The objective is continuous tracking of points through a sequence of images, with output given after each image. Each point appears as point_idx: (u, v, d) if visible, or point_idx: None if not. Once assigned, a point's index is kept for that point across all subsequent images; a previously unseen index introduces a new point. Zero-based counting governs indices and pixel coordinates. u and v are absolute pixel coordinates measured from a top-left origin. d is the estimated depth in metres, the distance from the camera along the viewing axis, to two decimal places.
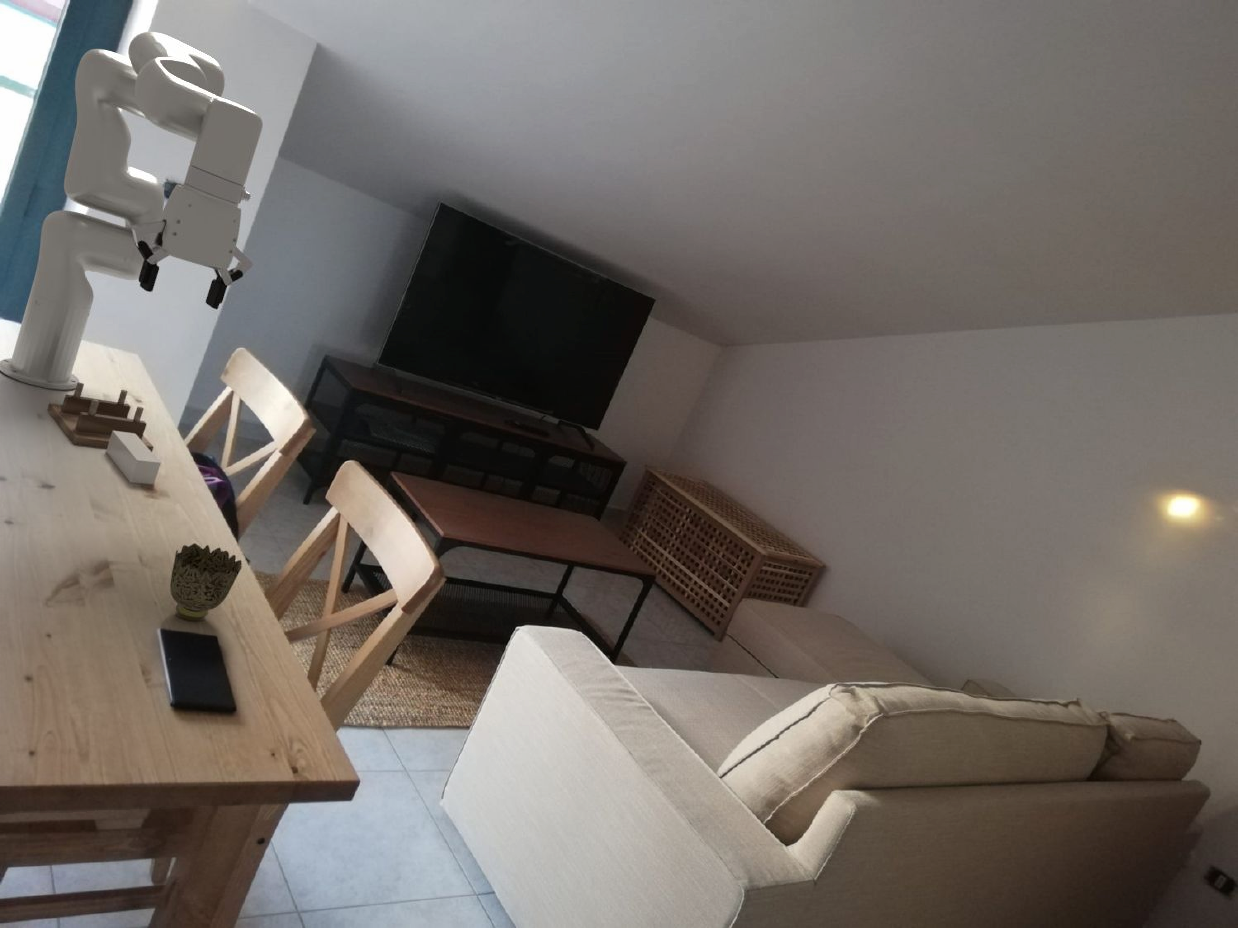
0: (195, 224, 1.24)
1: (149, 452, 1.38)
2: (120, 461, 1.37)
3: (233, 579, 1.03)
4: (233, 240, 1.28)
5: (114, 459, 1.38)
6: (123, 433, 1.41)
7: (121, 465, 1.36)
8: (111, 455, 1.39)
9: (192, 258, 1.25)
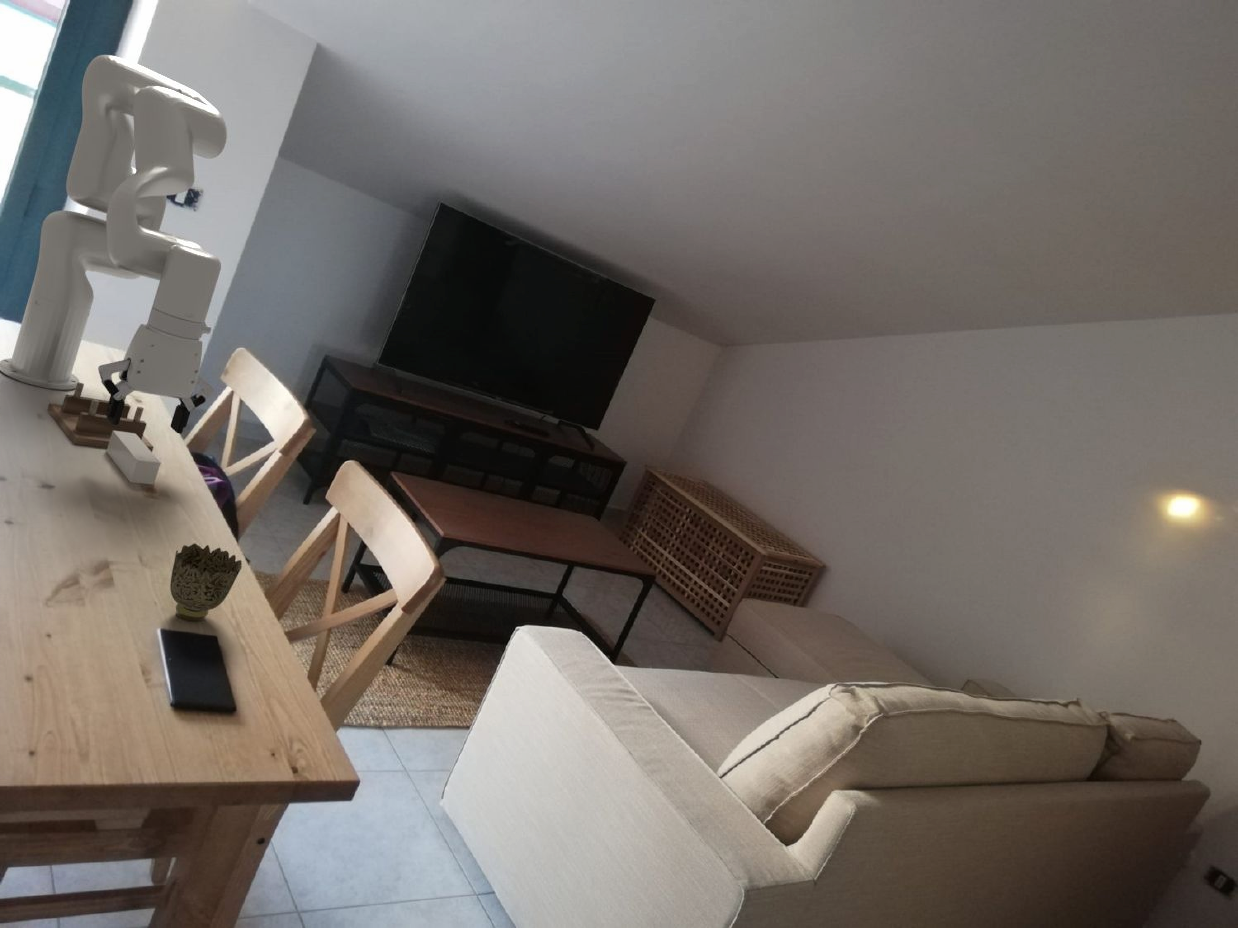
0: (158, 361, 1.32)
1: (149, 452, 1.38)
2: (120, 461, 1.37)
3: (233, 579, 1.03)
4: (195, 371, 1.37)
5: (114, 459, 1.38)
6: (123, 433, 1.41)
7: (121, 465, 1.36)
8: (111, 455, 1.39)
9: (156, 391, 1.34)
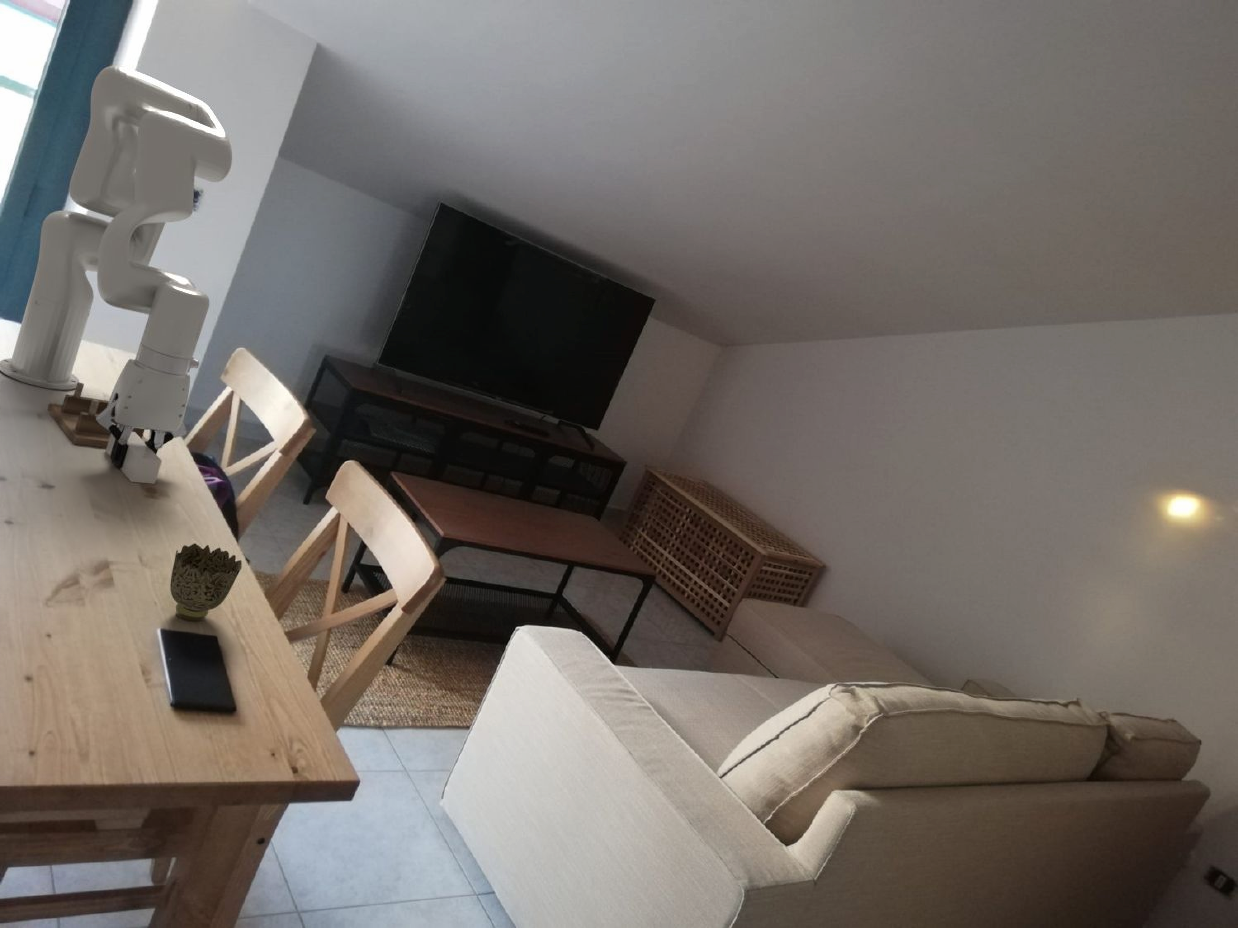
0: (145, 397, 1.33)
1: (150, 450, 1.38)
2: None
3: (233, 579, 1.03)
4: (182, 405, 1.38)
5: None
6: None
7: None
8: None
9: (143, 426, 1.35)
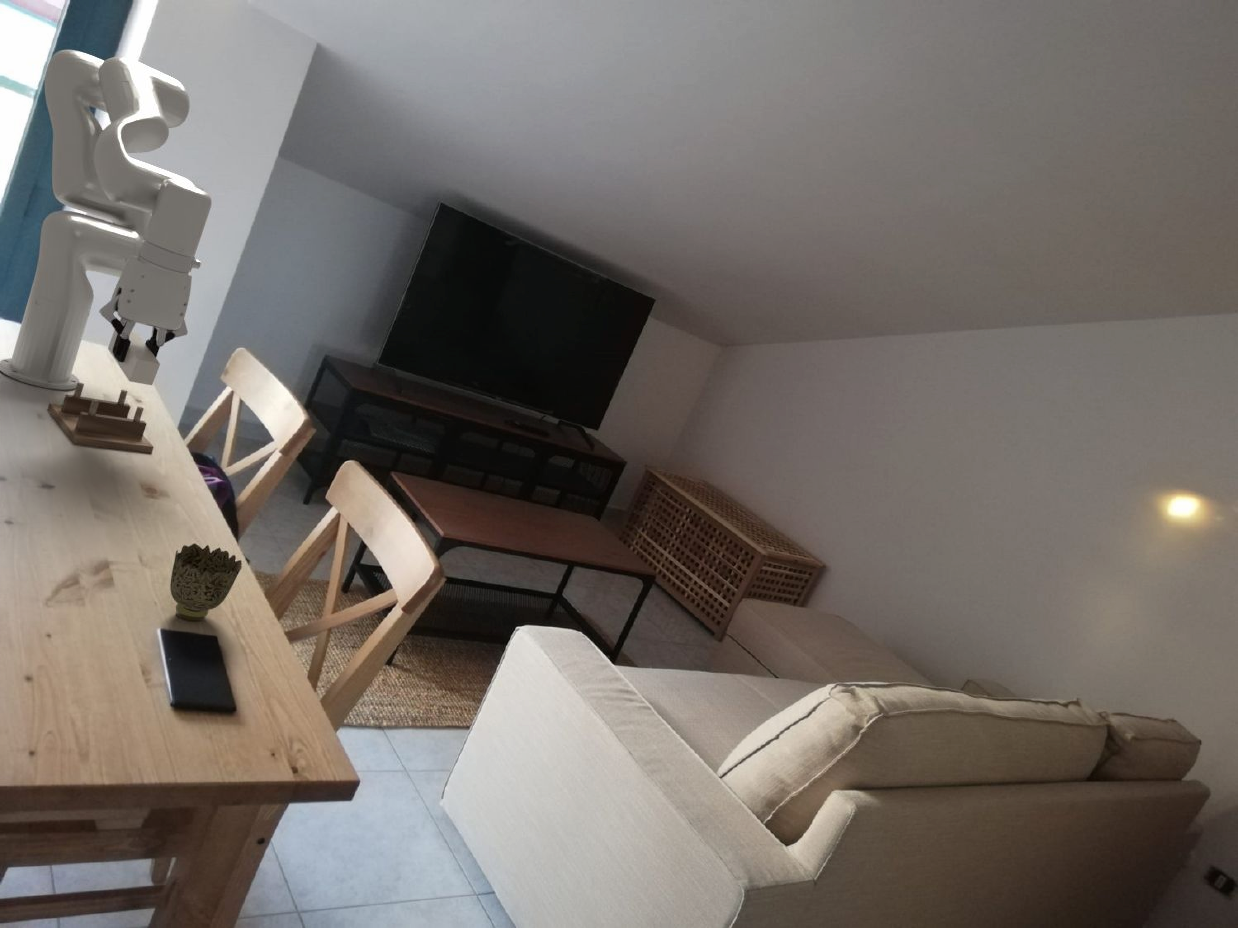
0: (148, 292, 1.37)
1: (149, 352, 1.42)
2: None
3: (233, 579, 1.03)
4: (184, 304, 1.42)
5: None
6: None
7: (121, 363, 1.41)
8: None
9: (145, 321, 1.39)
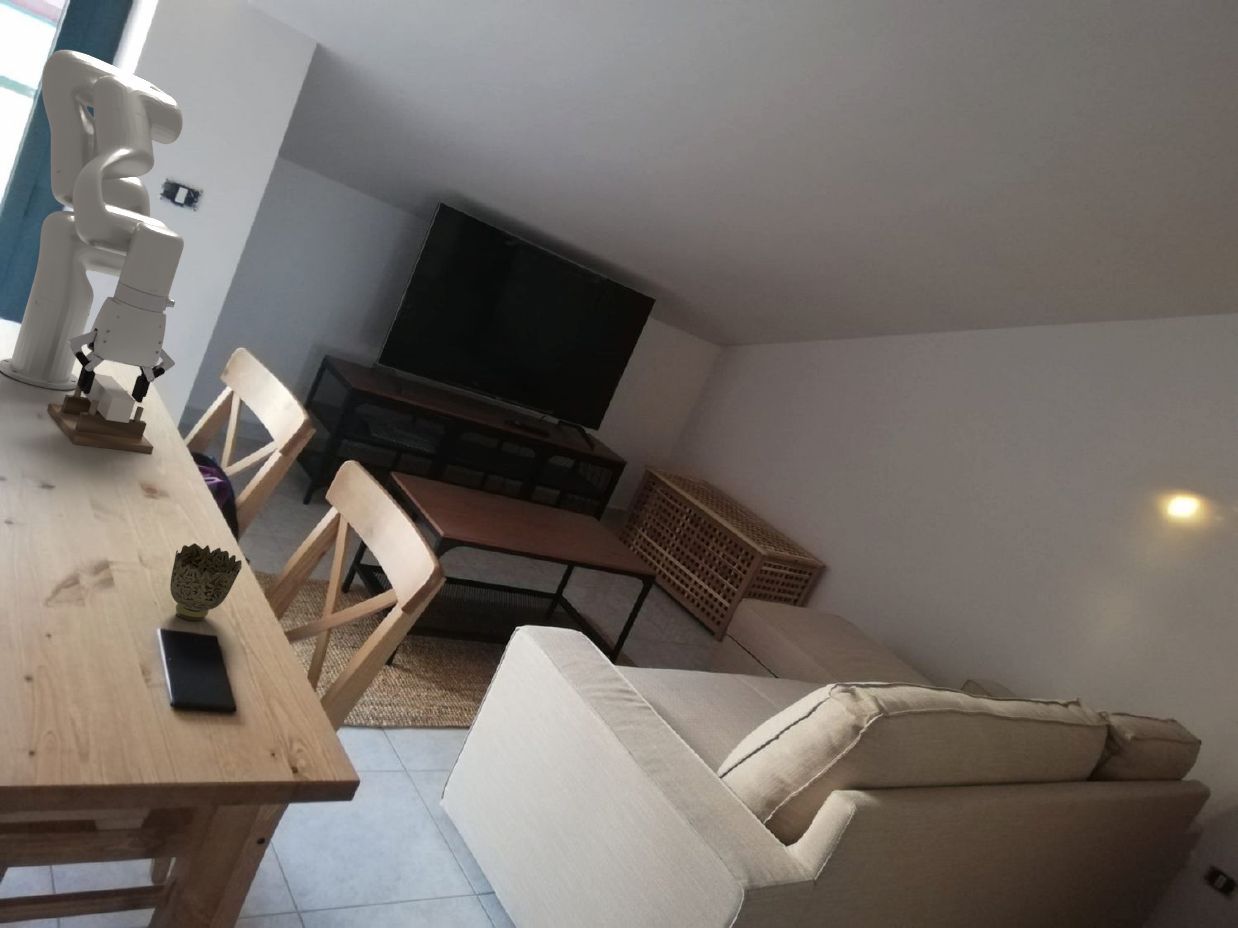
0: (123, 332, 1.41)
1: (124, 392, 1.46)
2: None
3: (233, 579, 1.03)
4: (159, 342, 1.46)
5: (91, 399, 1.47)
6: (99, 375, 1.49)
7: (98, 404, 1.45)
8: (88, 395, 1.48)
9: (121, 360, 1.43)
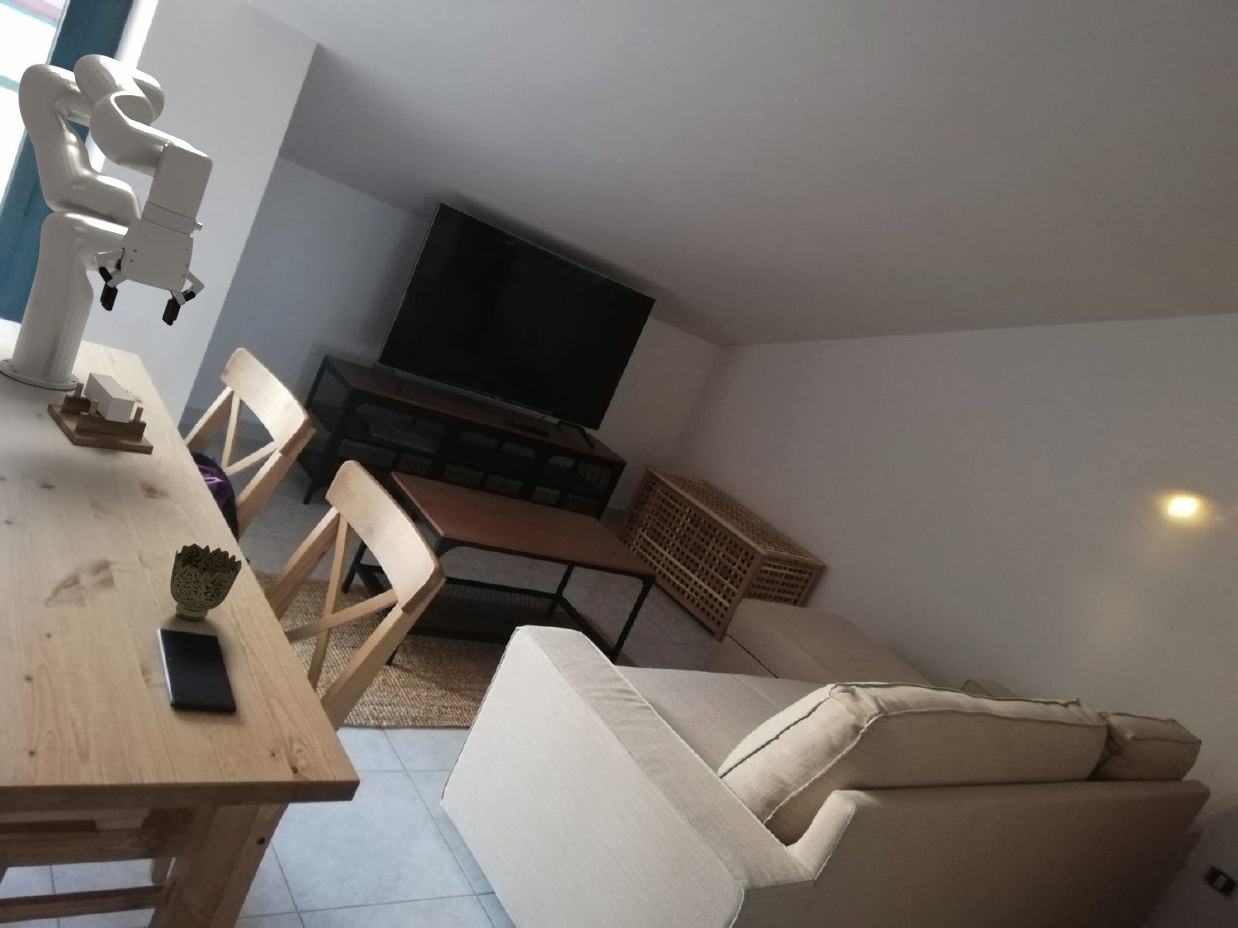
0: (150, 252, 1.40)
1: (124, 392, 1.46)
2: None
3: (233, 579, 1.03)
4: (186, 266, 1.45)
5: (91, 399, 1.47)
6: (99, 375, 1.49)
7: (98, 404, 1.45)
8: (88, 395, 1.48)
9: (148, 282, 1.42)
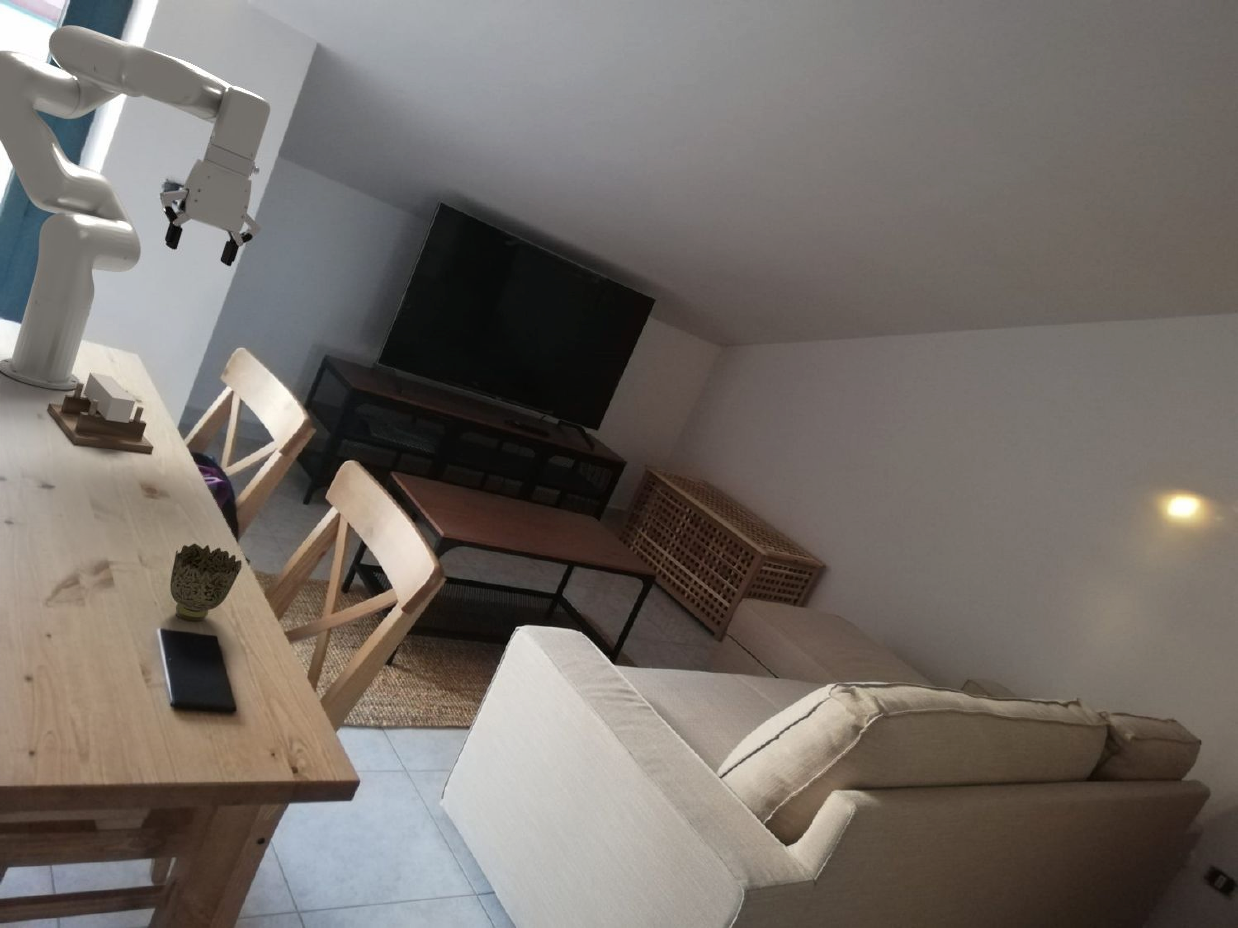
0: (213, 193, 1.47)
1: (124, 392, 1.46)
2: None
3: (233, 579, 1.03)
4: (244, 207, 1.52)
5: (91, 399, 1.47)
6: (99, 375, 1.49)
7: (98, 404, 1.45)
8: (88, 395, 1.48)
9: (210, 222, 1.49)
